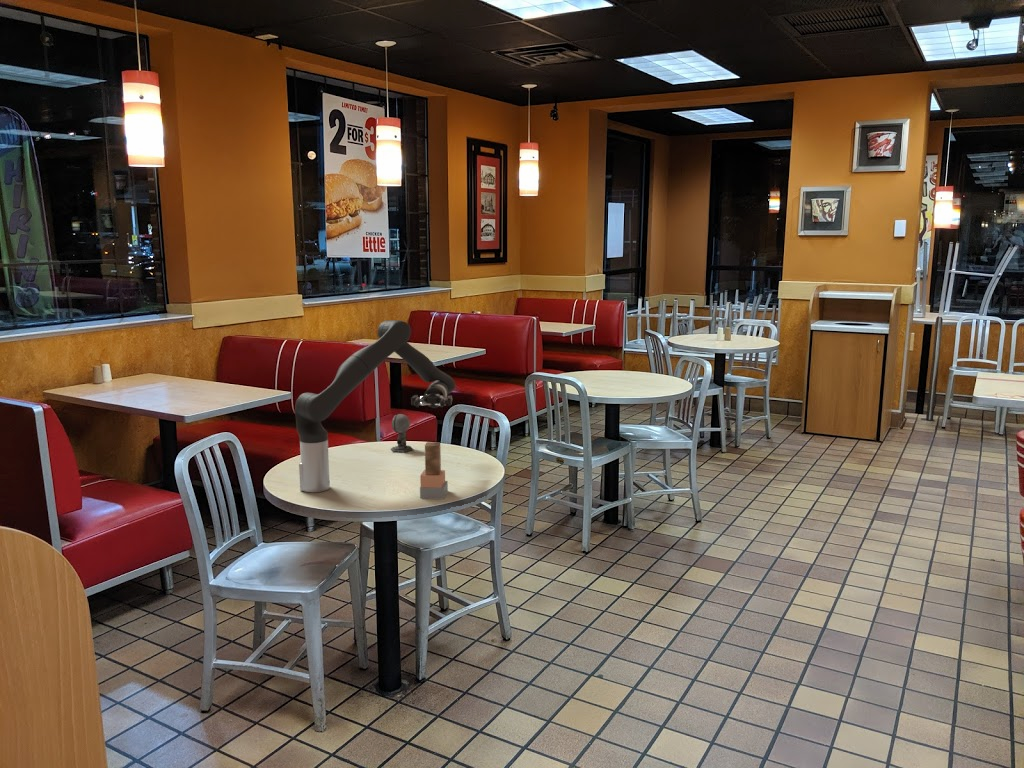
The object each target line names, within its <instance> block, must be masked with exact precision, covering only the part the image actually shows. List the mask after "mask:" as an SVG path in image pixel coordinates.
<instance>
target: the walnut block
mask: <svg viewBox="0 0 1024 768" xmlns="http://www.w3.org/2000/svg"><path fill="white" fill-rule="evenodd" d="M441 454H442V453H441V442H439V441H426V442H425V444H424V467H425V469H424V470H425V475H440V472H441V470H442V463H441V462H442V461H441V460H442V459H441V458H442V457H441V456H442V455H441Z"/></svg>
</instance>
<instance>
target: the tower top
mask: <svg viewBox="0 0 1024 768" xmlns="http://www.w3.org/2000/svg"><path fill="white" fill-rule="evenodd" d="M419 478H420V479H419V480H420V481H419V482H420V487H429V488H442V486H443V484H444V483H445V481H446V470H444V469H441V472H440V475H425V469H424V470H423V472H422V473H420V475H419Z"/></svg>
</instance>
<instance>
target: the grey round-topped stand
mask: <svg viewBox="0 0 1024 768" xmlns="http://www.w3.org/2000/svg"><path fill="white" fill-rule="evenodd" d="M410 427H411V420H410V419H409V417H408V416H407V415H405V414H403V413H398V414H396V415H394V416H393V418H392V420H391V428H392V430H393V431H394V432H395V433H397V434H398V435H397V439H396V440H397V441H396V444H397V445H395V446H392V447H391V448H390V451H391V452H392V453H395V454H396V453H398V454H406V453H410V452H414V451H415V450H414V447H412V446H411V445H407V440H408V436H407V433H406V432H407V431H408V430H409V429H410Z"/></svg>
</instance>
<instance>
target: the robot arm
mask: <svg viewBox="0 0 1024 768" xmlns="http://www.w3.org/2000/svg"><path fill="white" fill-rule="evenodd" d="M411 334H412V329H411V326H410V324H409V323H407V322H406V321H404V320H397V319H395V320H394V319H391V320H384V321H382V322H380V324H379V325H378V328H377V337H378V338H379V339H377V340H376V341H375V342H372V343H370V344H369V345H367V346H365V347H362V348H361V349H359V350H357V351H356V352H354V353H353V354H351V355H350V356H349V357H348V358H347V359H346V360H344V361H343V362H342V364H341V365H339V367H338V369H337V372H336V375H335V377H334V379H333V381H332V383H330V385H328V386H327V388H325V389H323V390H322V391H321V392H320V393H313V392H304V393H301V394H299V396H298V398H297V399H296V401H295V405H294V414H295V415H294V416H295V423H296V424H295V425H296V432H297V434H298V437H299V446H300V447H299V451H300V452H299V453H300V463H299V464H298V471H299V473H298V474H299V490H300V491H302V492H305V493H320V492H325V491H328V490H330V489H331V488H330V485H331V484H330V459H329V458H330V457H329V438H328V437H329V436H328V435H329V434H328V431H327V430H326V429H325V428H324V426H323V425H322V422H323V421H325V420H326V419H328V418H329V416H330V415H331V414H332V413H333V412H334V411H335V410H336V408H337V407H339V405H340V404H341V403H342V401H343V400H344V399H345V398H346V397H347V396H349V394H351V392H352V391H354V389H356V388H357V387H358V386H359V385H360V384H361V383H363V382H364V381H365V380H366V379H367V378H368V376H369V377H370V375H371V374H372V373H373V372H374V371H375V370H376V369H377V368H378V367H379V366H380V365H381V364H382V363H383V362H385V361H386V360H387V358H389V357H390V356H391V355H392V354H394V353H395V354H396V355H398V356H399V357H400V358H401V359H402V360H403V361H405V363H407V364H408V365H409V366H410V367H411V368H412V369H413V371H414V372H415V373H416V374H417V375H418V376H419V377H420V378H421V379H422V381H424V382H425V383H431V384H429V385H428V388H427V389H426V391H425V392H424V394H423V395H420V396H419V395H418V394H415V395H413V396H412V397H410V400H411V401H410V404H411V406H415V408H419V406H428V407H430V408H433V409H437V408H439V407H440V408H443V407H444V406H452V403H453V395H451V393H452V392H453V391H455V389H456V386H457V385H456V382H455V380H454V378H452V377H451V375H448V374H447V373H445V372H444V371H442V370H441V369H439V368H438V367H437V366H436V365H435V364H434V363H433V362H432V361H431V360H430V358H429V357H427V355H425V354H424V353H422V352H421V351H419V350H418V349H417V348H415V347H414V346H412V345H411V344H409V342H408V341H409V340H410V337H411ZM449 394H450V395H449Z"/></svg>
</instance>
